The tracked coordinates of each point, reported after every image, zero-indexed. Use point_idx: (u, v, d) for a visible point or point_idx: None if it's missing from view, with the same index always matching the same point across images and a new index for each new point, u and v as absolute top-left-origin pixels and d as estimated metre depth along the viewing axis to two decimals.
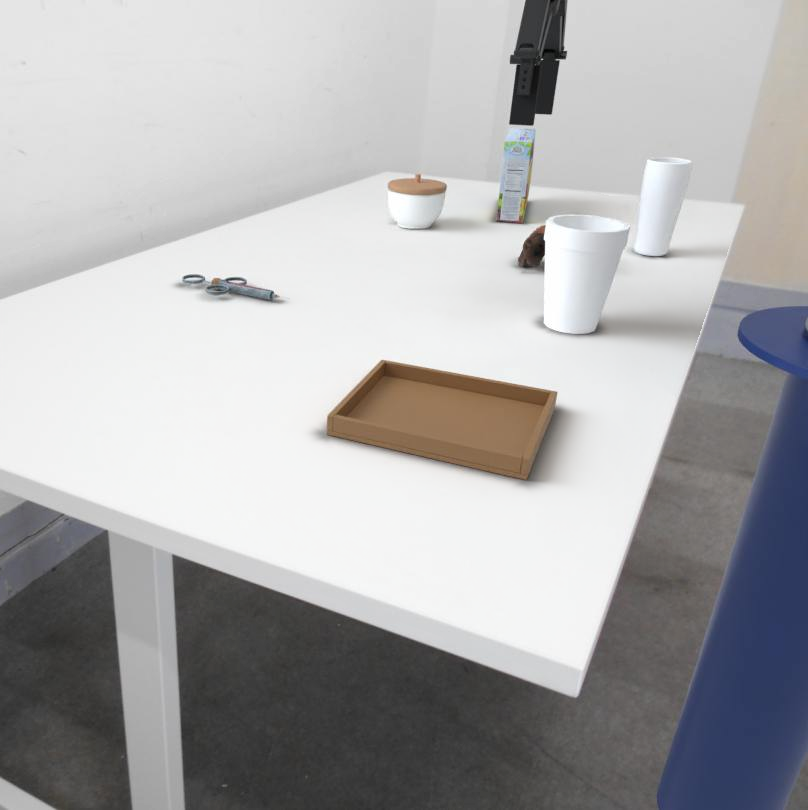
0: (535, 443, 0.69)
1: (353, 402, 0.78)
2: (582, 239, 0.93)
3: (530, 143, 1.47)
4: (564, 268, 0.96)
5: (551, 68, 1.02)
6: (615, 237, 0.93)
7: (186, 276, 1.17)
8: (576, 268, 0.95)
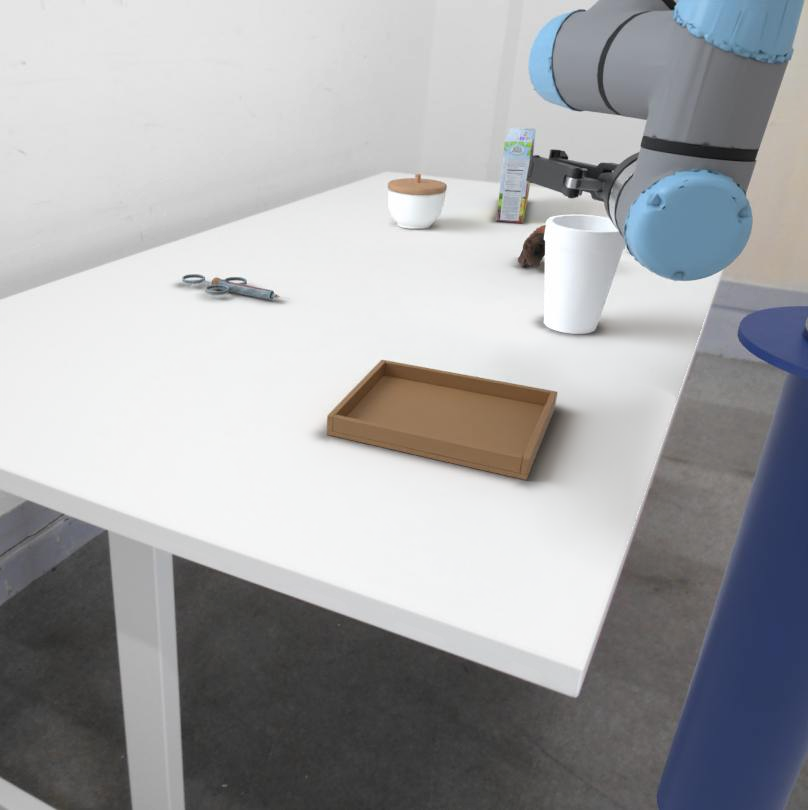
0: (535, 443, 0.69)
1: (353, 402, 0.78)
2: (582, 238, 0.93)
3: (530, 143, 1.47)
4: (564, 268, 0.96)
5: None
6: (615, 237, 0.93)
7: (186, 276, 1.17)
8: (576, 268, 0.95)
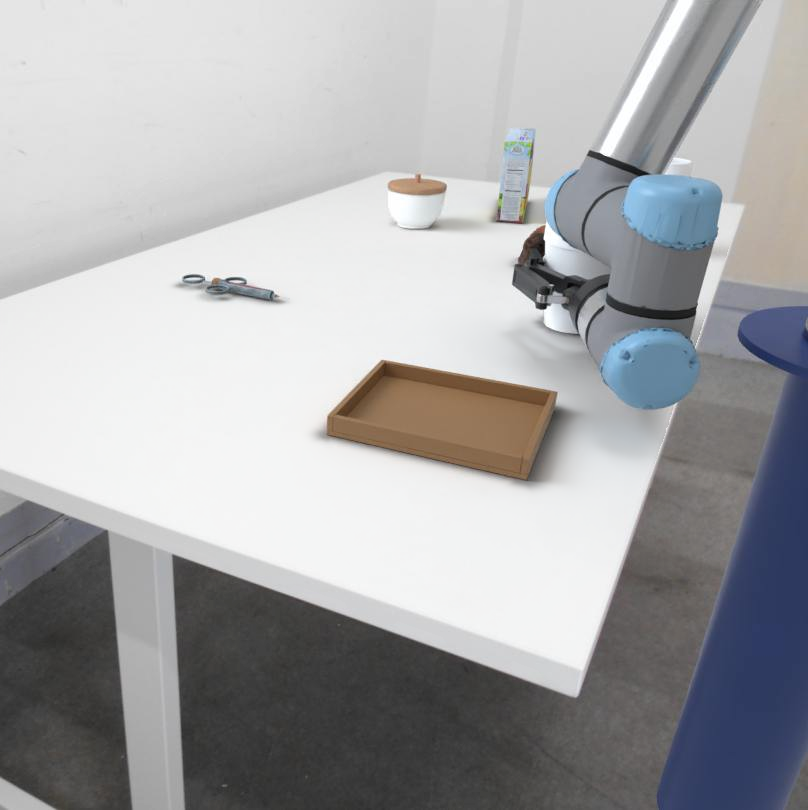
0: (535, 443, 0.69)
1: (353, 402, 0.78)
2: None
3: (530, 143, 1.47)
4: (564, 268, 0.96)
5: None
6: None
7: (186, 276, 1.17)
8: (576, 268, 0.95)
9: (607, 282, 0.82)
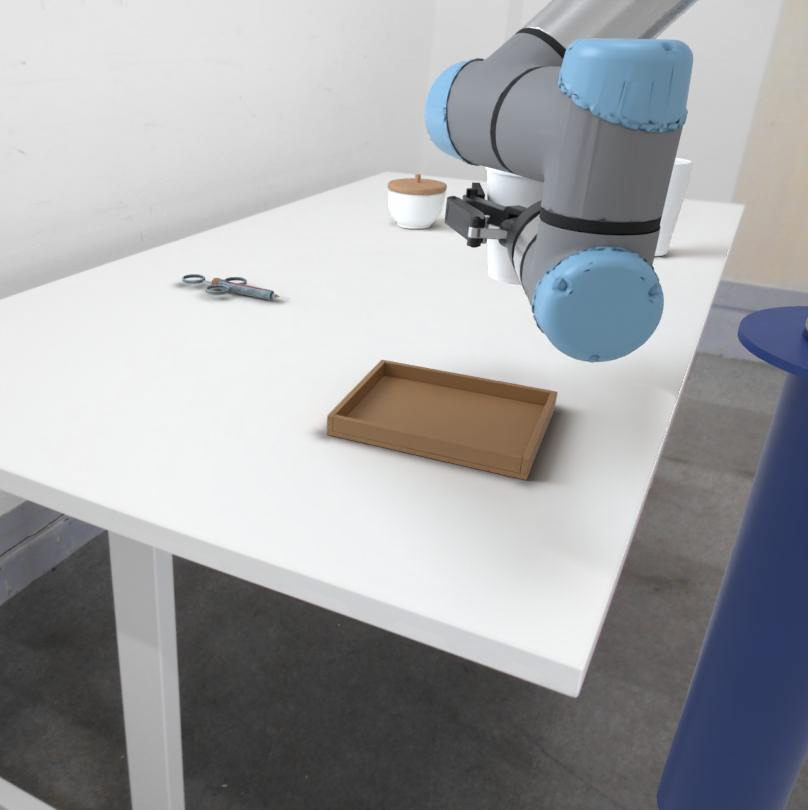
0: (535, 443, 0.69)
1: (353, 402, 0.78)
2: None
3: None
4: (508, 201, 0.77)
5: None
6: None
7: (186, 276, 1.17)
8: (523, 200, 0.76)
9: None
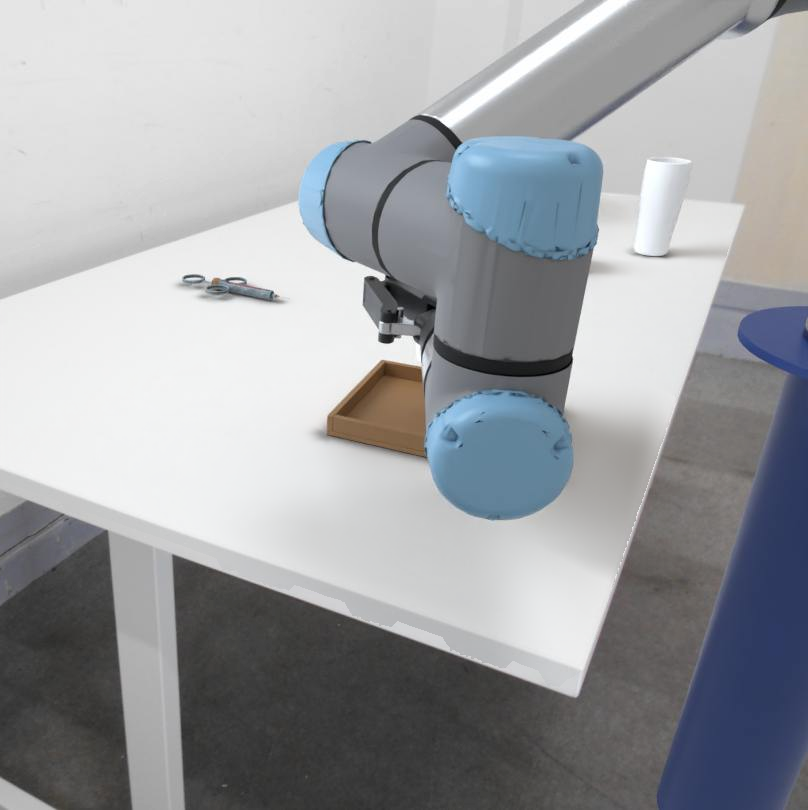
0: None
1: (353, 402, 0.78)
2: None
3: None
4: None
5: None
6: None
7: (186, 276, 1.17)
8: None
9: None
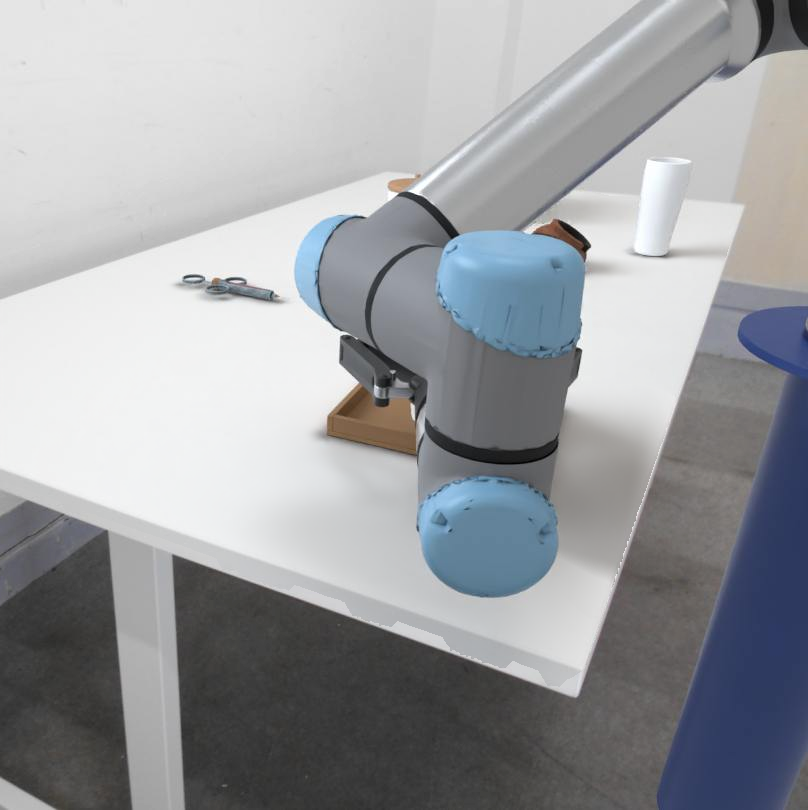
0: None
1: (353, 402, 0.78)
2: None
3: None
4: None
5: None
6: None
7: (186, 276, 1.17)
8: None
9: None
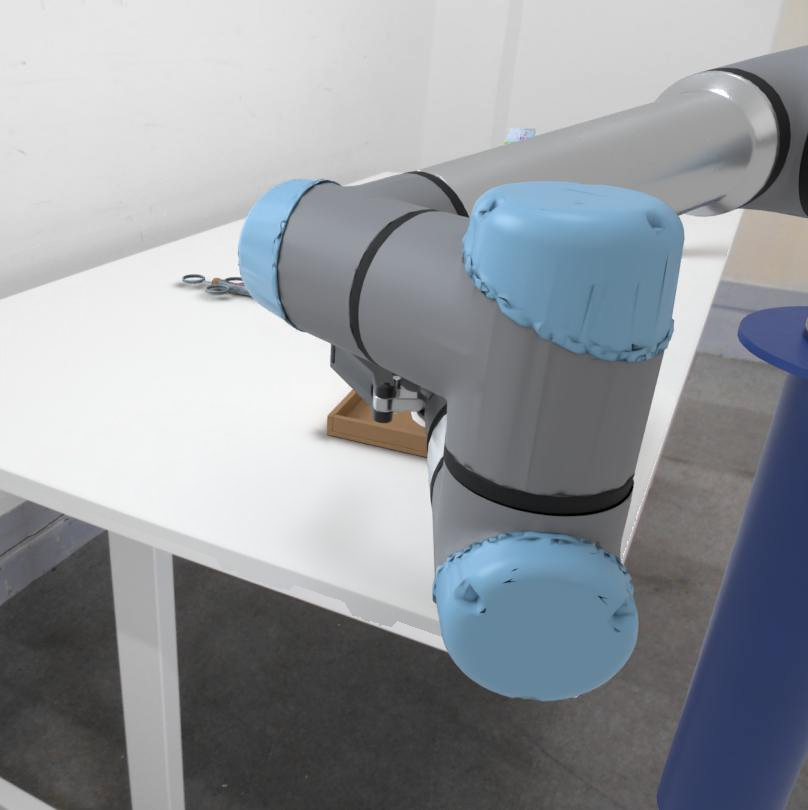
0: None
1: (353, 402, 0.78)
2: None
3: None
4: None
5: None
6: None
7: (186, 276, 1.17)
8: None
9: None
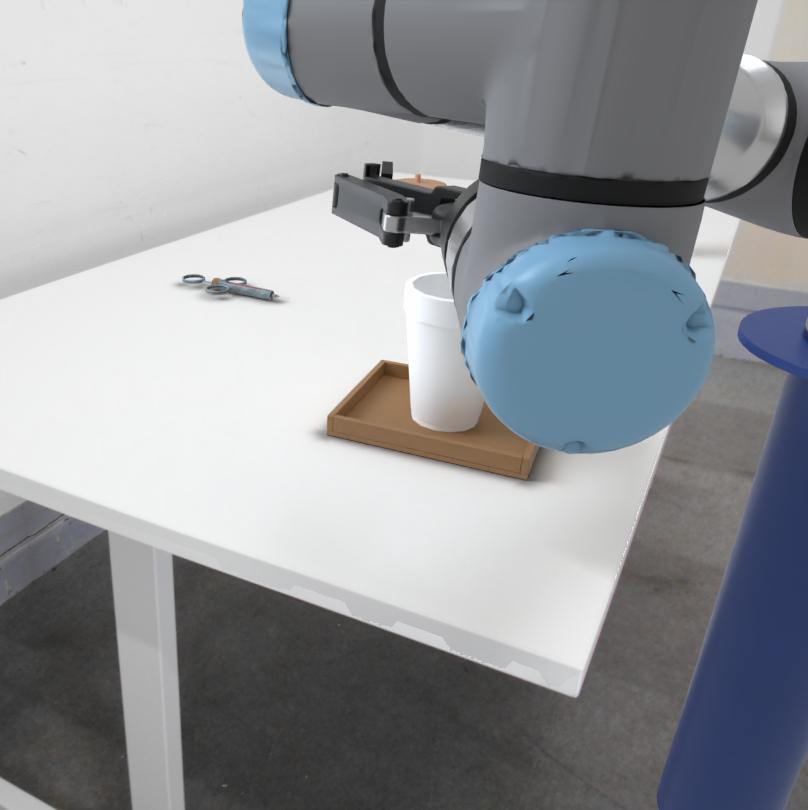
0: None
1: (353, 402, 0.78)
2: (445, 311, 0.68)
3: None
4: (426, 348, 0.71)
5: None
6: None
7: (186, 276, 1.17)
8: (440, 349, 0.70)
9: None
